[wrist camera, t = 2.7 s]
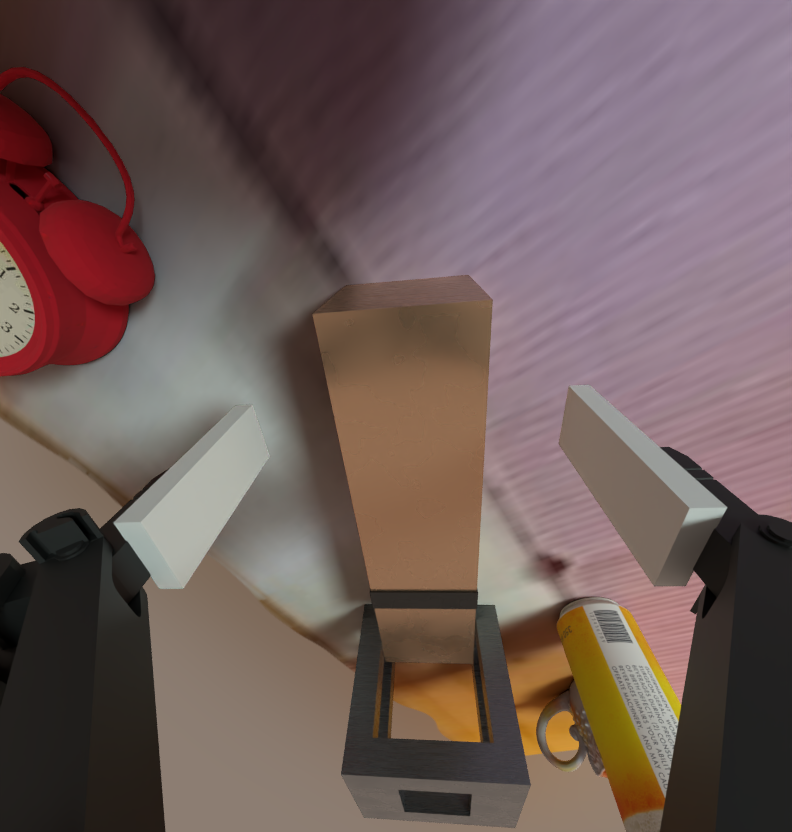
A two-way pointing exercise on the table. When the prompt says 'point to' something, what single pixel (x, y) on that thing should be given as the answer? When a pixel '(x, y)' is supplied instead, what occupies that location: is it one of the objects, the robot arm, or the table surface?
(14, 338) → the alarm clock
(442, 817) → the collar block
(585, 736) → the mug
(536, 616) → the table surface
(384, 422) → the banded wooden beam
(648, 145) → the table surface
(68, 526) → the robot arm
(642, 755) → the yellow can
